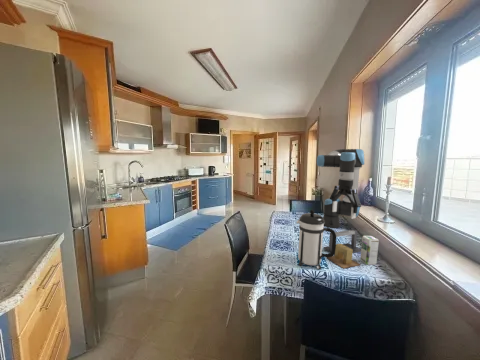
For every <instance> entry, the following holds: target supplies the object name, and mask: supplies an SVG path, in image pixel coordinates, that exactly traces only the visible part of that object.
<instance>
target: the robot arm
mask: <svg viewBox="0 0 480 360" xmlns="http://www.w3.org/2000/svg"><path fill="white" fill-rule="evenodd" d="M364 153H365V152H364V150H363V149H361V148H342V149H341V148H340V149H335V150H332V151H330V152H329V153H328V154H319V155H317V157H316V166H317V167H321V168H323V167H324V168H325V167H326V168H339V172H338V181H337V182H338V183H337V184H338V185H334V188H333V191H332V192H331V194H330V197H329V198H326V199H325V200H324V204H323V205H324V206H323V216H322V217H323V219H324V220H325V223H324V227H325V226H326V227H325V228H329V227H330V229H338V228H339V229H340V228H341V221H340V217H339V216H345V217H350V219H352V220H353V219H357V217H358V216H359V213H360V210H361V207H362V203H361V200H360V198H359V195H358V193H359V192H358V191H359V190H358V189H359V179H360V170H361V168H362V167H363V166H364V165H365V154H364ZM341 196H344V198H342V200H341V199H340V197H341Z"/></svg>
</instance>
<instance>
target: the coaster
mask: <svg viewBox="0 0 480 360" xmlns="http://www.w3.org/2000/svg"><path fill="white" fill-rule="evenodd" d="M343 257H344V255H343ZM326 259H327V260H329V261H330V262H331V263H334V264H335V265H336V266H338V267H339V266H340V267H339V268H341V269H342V268H343V270H345V269H349V268H350V269H351V268H353V267H354V268H355V267H359V266H361V263H360V262H357V261H355V260H353V259H352V264H347V265H346V264H344V263H343V258H342V259H336V258H335V255H333V256H332V257H326Z"/></svg>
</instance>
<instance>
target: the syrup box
mask: <svg viewBox="0 0 480 360" xmlns="http://www.w3.org/2000/svg"><path fill="white" fill-rule="evenodd" d="M361 238H362V239H361V247H360V249H361V252H360V258H359V260H360V261H361V262H362V263H364V264H365V265H366V266H375V265H377V261H378V260H377V259H378V251H379V245H380V244H379V241H380V239H378V238H377V237H376V238H375V237H374V236H372V235H362V237H361Z"/></svg>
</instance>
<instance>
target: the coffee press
mask: <svg viewBox="0 0 480 360" xmlns="http://www.w3.org/2000/svg"><path fill="white" fill-rule="evenodd" d="M324 223H325V220H324V219H323V216H322V215H320V214H317V213H316V212H315V210H314V209H311V210H310V211H309V212H306V213H303V214H301V216H300V217H299V219H298V220H297V221H296V224H299V227H298V228H299V236H298V253H297V255H298V256H297V257H298V260H299V263H298V264H297V265H298V266H299V267H303V265H307V266H315V267H316V268H317V270H321V269H322V267H321V262H322V259H323V258H327V257H332V256H335V255H334V254H335V250H336V244H337V237H336V234H335V232H336V231H335V230H333V228H329V227H325V226H324ZM324 231H325V232H329V233H332V236H333V239H332V251H331V252H328V253H323V243H324V242H323V239H324V237H323V236H324Z"/></svg>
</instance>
